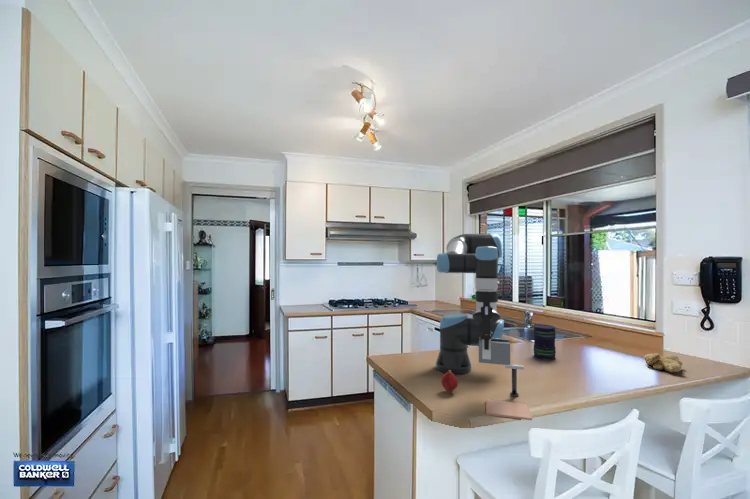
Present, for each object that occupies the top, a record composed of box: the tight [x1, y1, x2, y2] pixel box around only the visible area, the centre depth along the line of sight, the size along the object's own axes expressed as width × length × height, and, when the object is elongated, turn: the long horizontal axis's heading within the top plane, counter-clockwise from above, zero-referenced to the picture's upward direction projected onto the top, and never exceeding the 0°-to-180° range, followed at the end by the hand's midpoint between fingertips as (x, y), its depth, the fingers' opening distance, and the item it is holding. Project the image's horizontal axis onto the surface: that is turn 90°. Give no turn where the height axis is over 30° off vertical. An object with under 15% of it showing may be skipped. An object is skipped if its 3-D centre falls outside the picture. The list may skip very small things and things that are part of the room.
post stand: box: [504, 363, 525, 398], centre depth 128 cm, size 6×3×10 cm, turn 73°
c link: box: [478, 337, 511, 366], centre depth 126 cm, size 10×9×7 cm
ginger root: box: [643, 352, 683, 373], centre depth 161 cm, size 16×16×8 cm
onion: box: [440, 370, 459, 394], centre depth 131 cm, size 6×6×8 cm
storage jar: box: [533, 324, 557, 361], centre depth 178 cm, size 10×10×15 cm
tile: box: [485, 399, 533, 421], centre depth 115 cm, size 13×11×1 cm
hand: (486, 355), depth 127 cm, fingers closed on c link, 9 cm apart
